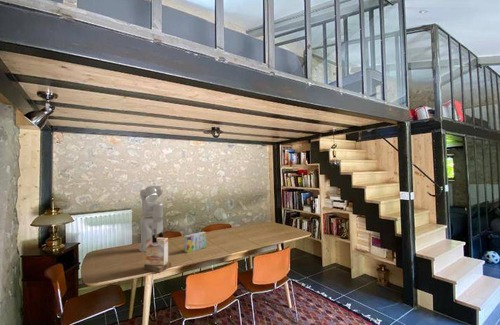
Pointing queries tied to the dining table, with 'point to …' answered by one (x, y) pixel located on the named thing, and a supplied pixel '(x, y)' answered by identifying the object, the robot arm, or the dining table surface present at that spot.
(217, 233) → the dining table surface
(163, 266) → the block
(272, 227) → the dining table surface
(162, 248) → the coffeecake box
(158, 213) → the robot arm
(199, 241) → the snack box
